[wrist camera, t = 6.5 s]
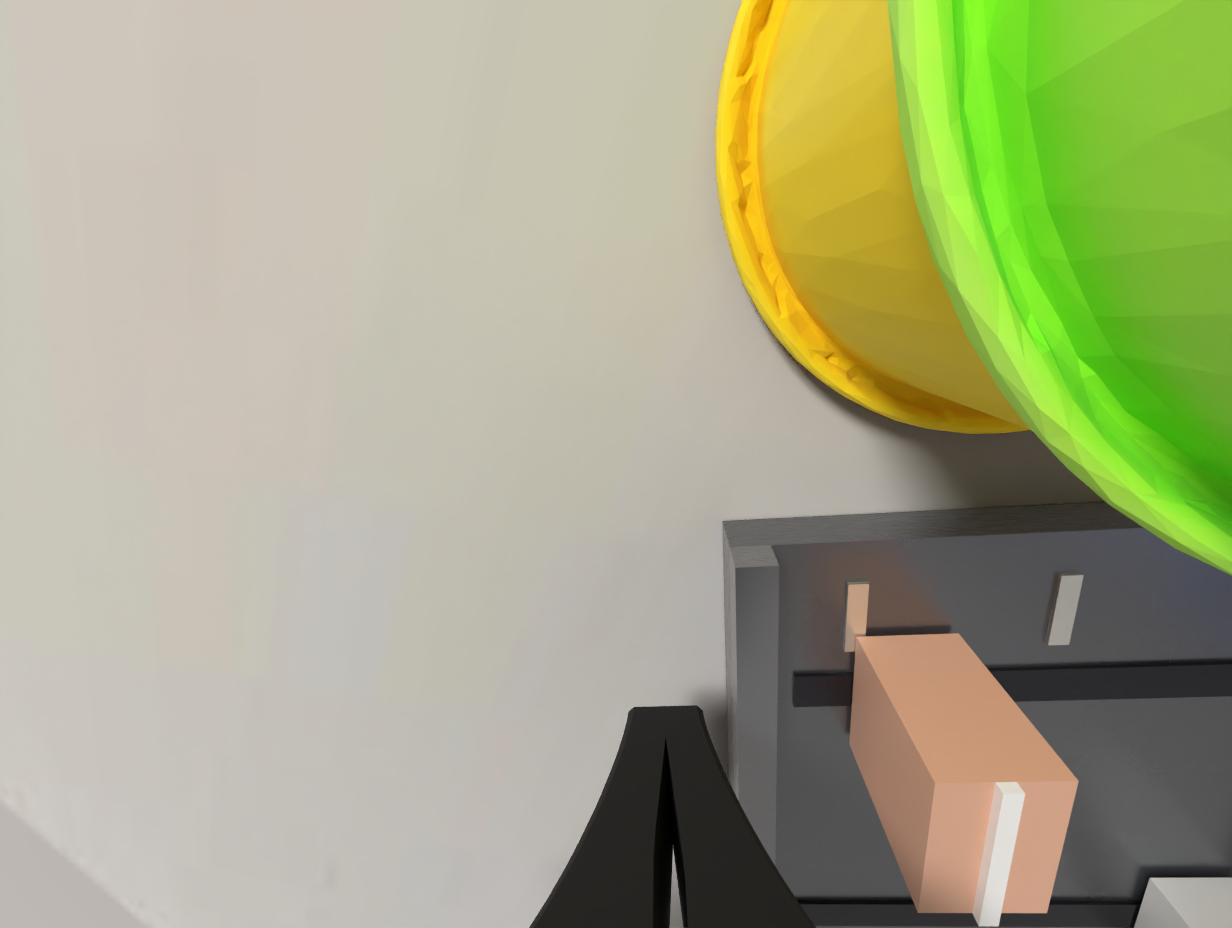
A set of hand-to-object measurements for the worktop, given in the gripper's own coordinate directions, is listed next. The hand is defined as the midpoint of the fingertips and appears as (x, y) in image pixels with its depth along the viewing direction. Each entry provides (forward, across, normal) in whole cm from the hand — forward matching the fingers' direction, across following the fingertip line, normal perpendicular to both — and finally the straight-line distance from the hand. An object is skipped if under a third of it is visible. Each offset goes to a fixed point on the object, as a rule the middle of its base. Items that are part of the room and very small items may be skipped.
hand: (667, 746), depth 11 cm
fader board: (+3, -8, +3) cm, 9 cm away
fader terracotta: (+1, -5, 0) cm, 5 cm away
